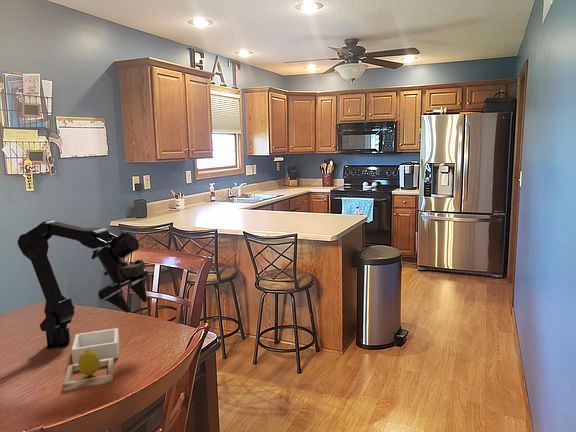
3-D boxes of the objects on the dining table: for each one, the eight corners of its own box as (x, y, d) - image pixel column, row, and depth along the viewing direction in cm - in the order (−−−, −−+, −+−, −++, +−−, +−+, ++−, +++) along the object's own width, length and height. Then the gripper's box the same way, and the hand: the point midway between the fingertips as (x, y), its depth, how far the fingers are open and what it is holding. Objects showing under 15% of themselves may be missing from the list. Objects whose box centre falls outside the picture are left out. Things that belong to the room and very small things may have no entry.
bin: (73, 365, 136) (71, 349, 136) (77, 348, 149) (76, 334, 148) (118, 357, 141) (117, 342, 140) (119, 342, 153) (118, 328, 152)
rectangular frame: (63, 390, 122) (63, 384, 121) (69, 370, 133) (68, 364, 133) (112, 381, 126) (112, 375, 125) (113, 363, 137) (113, 357, 137)
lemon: (83, 372, 132) (81, 346, 131) (103, 371, 132) (100, 345, 131) (76, 381, 126) (74, 354, 125) (96, 380, 127) (94, 353, 126)
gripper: (111, 261, 131) (138, 307, 132) (148, 246, 149) (171, 287, 149) (85, 277, 135) (111, 322, 135) (124, 261, 153) (147, 300, 153)
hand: (137, 306), depth 143 cm, fingers open, 9 cm apart
